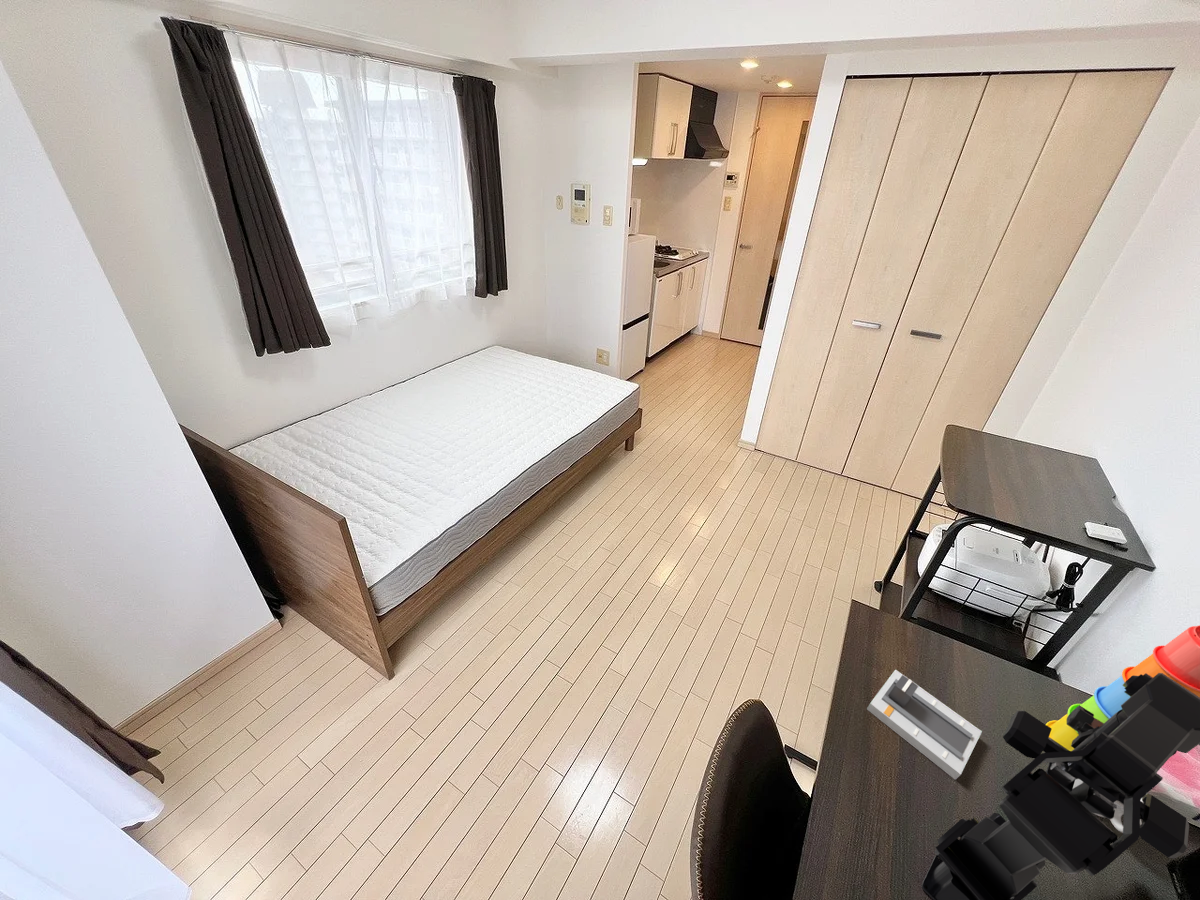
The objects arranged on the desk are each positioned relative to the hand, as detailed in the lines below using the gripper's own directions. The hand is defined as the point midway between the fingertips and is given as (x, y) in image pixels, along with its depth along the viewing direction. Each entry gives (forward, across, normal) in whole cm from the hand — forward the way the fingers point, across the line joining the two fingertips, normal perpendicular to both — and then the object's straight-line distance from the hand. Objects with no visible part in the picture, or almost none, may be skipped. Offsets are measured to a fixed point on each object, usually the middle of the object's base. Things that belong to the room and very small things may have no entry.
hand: (1054, 803), depth 72 cm
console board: (+12, +17, -8) cm, 22 cm away
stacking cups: (+12, -4, -27) cm, 30 cm away
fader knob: (+10, +22, -8) cm, 25 cm away
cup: (+12, -8, -17) cm, 22 cm away
